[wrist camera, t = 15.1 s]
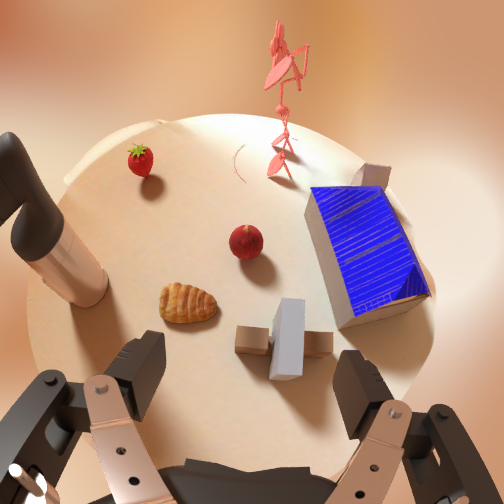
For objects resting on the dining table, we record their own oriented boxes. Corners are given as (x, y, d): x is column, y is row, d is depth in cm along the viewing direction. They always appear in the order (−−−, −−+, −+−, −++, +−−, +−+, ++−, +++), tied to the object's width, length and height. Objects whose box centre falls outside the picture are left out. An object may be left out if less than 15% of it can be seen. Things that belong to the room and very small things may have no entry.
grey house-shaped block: (377, 202, 59) (394, 172, 50) (353, 200, 58) (368, 169, 50) (373, 191, 61) (388, 161, 52) (349, 189, 60) (362, 157, 52)
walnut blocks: (235, 352, 40) (234, 345, 36) (237, 334, 42) (237, 325, 37) (322, 358, 40) (333, 352, 36) (322, 340, 42) (333, 332, 37)
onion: (267, 258, 49) (272, 232, 43) (240, 273, 48) (241, 249, 41) (250, 235, 52) (252, 208, 45) (223, 249, 50) (222, 222, 43)
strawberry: (131, 189, 57) (119, 156, 48) (136, 167, 61) (127, 136, 52) (155, 186, 58) (146, 152, 49) (159, 164, 61) (151, 132, 53)
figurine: (298, 136, 70) (316, 18, 40) (290, 202, 57) (320, 39, 27) (244, 128, 71) (246, 11, 41) (220, 191, 58) (210, 30, 28)
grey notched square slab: (287, 380, 38) (302, 375, 30) (268, 379, 38) (277, 374, 30) (291, 321, 43) (305, 299, 35) (273, 319, 43) (282, 297, 35)
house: (408, 313, 45) (458, 276, 31) (336, 332, 43) (378, 297, 29) (367, 210, 57) (394, 159, 44) (302, 214, 55) (319, 156, 42)
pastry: (219, 291, 46) (217, 282, 43) (214, 329, 42) (213, 323, 39) (166, 286, 46) (161, 276, 42) (159, 322, 42) (153, 316, 39)
